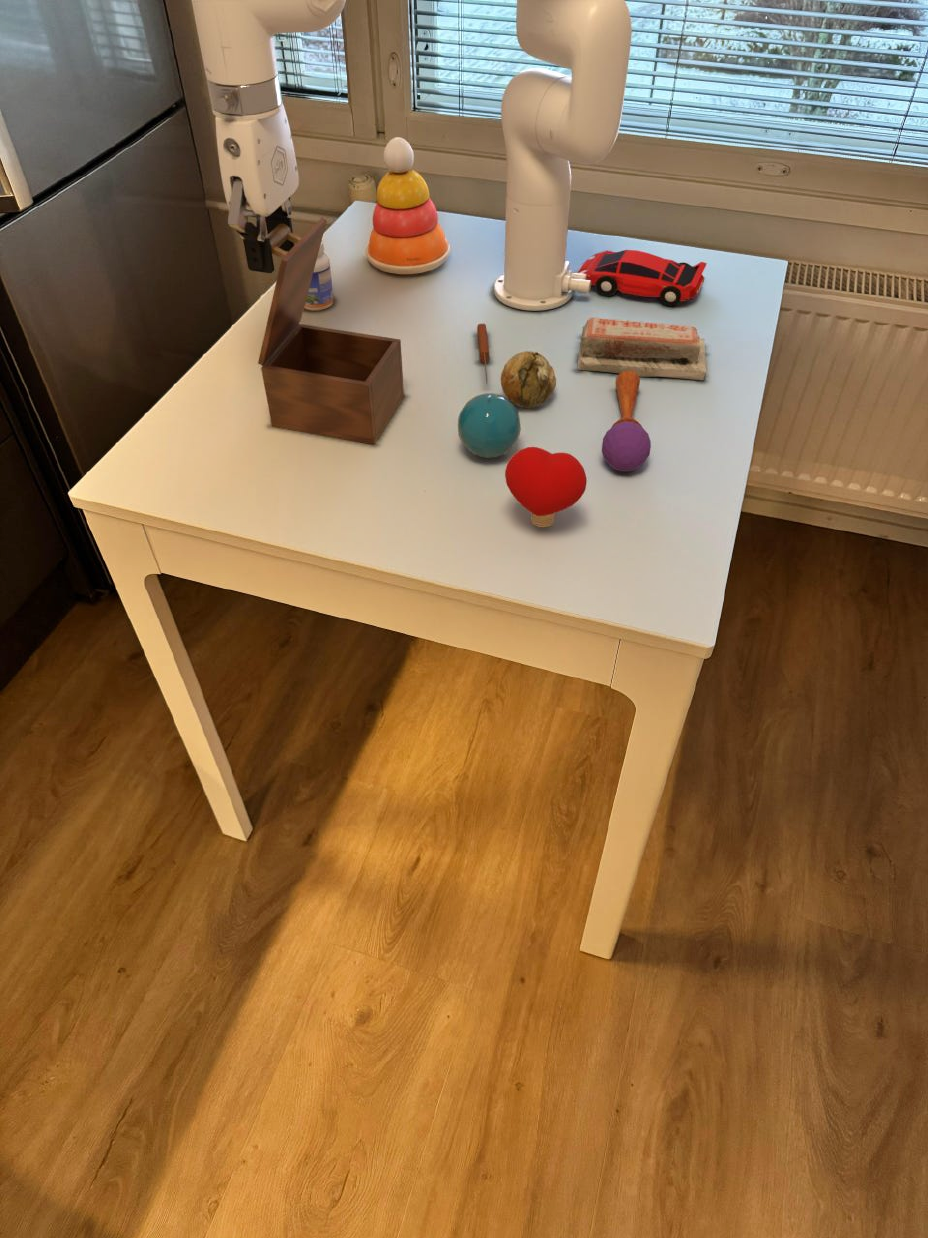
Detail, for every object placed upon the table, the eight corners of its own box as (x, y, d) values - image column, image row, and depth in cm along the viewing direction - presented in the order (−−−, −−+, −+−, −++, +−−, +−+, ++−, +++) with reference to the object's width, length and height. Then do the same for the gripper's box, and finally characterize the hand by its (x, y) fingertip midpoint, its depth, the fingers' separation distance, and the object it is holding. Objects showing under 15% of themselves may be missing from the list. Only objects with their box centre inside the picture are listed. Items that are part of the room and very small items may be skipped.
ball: (523, 436, 120) (526, 383, 114) (515, 474, 114) (517, 419, 108) (463, 431, 120) (462, 377, 115) (452, 467, 115) (451, 413, 109)
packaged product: (579, 341, 127) (584, 306, 133) (576, 372, 130) (581, 336, 137) (711, 351, 125) (709, 315, 131) (704, 382, 128) (703, 346, 135)
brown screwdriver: (477, 333, 138) (477, 320, 136) (486, 332, 138) (486, 320, 137) (481, 390, 127) (482, 378, 126) (491, 390, 127) (491, 377, 126)
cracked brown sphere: (566, 392, 127) (570, 340, 121) (541, 422, 122) (545, 369, 116) (516, 379, 129) (519, 327, 123) (491, 407, 124) (492, 354, 118)
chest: (404, 397, 126) (400, 339, 120) (374, 444, 119) (368, 385, 112) (307, 380, 129) (298, 323, 123) (271, 426, 122) (260, 367, 115)
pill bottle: (292, 305, 144) (283, 245, 137) (314, 291, 147) (306, 231, 140) (320, 314, 142) (312, 253, 135) (341, 300, 145) (334, 239, 138)
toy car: (584, 265, 153) (587, 235, 149) (704, 282, 149) (710, 251, 145) (569, 293, 146) (572, 263, 143) (695, 312, 142) (701, 281, 138)
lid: (327, 219, 111) (292, 200, 111) (286, 261, 103) (249, 241, 103) (300, 321, 123) (268, 305, 122) (262, 366, 115) (228, 348, 115)
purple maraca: (655, 367, 123) (657, 444, 109) (641, 405, 128) (641, 485, 113) (613, 356, 123) (609, 432, 109) (600, 395, 127) (595, 473, 113)
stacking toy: (448, 241, 160) (446, 120, 146) (452, 279, 150) (450, 153, 136) (367, 243, 159) (357, 122, 145) (365, 281, 149) (354, 156, 135)
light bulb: (587, 515, 109) (596, 445, 101) (573, 552, 104) (580, 482, 97) (512, 499, 111) (515, 430, 103) (495, 535, 106) (497, 465, 99)
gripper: (241, 124, 91) (270, 296, 104) (310, 72, 102) (328, 234, 115) (174, 117, 92) (211, 288, 106) (249, 67, 104) (274, 227, 117)
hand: (272, 258), depth 110 cm, fingers closed on lid, 5 cm apart
